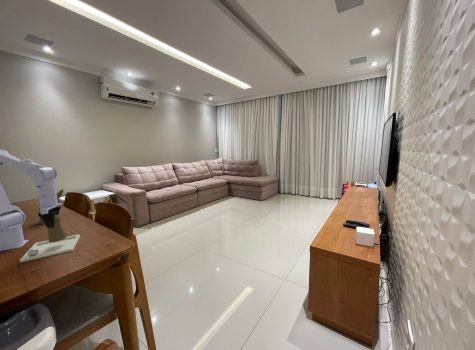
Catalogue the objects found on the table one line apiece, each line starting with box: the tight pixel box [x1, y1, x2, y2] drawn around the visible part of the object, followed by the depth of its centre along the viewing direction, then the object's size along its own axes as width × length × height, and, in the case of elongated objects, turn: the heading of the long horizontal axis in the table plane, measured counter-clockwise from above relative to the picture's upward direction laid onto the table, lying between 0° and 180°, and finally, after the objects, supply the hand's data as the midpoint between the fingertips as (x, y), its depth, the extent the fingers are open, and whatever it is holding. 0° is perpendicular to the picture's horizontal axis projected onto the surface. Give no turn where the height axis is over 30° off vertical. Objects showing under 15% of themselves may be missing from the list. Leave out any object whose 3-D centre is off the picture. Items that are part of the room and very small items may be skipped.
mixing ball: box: [26, 248, 39, 257], centre depth 80 cm, size 3×3×3 cm
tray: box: [19, 233, 81, 263], centre depth 87 cm, size 16×16×2 cm
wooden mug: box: [38, 189, 64, 224], centre depth 122 cm, size 9×14×18 cm, turn 148°
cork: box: [47, 214, 68, 243], centre depth 88 cm, size 6×6×11 cm
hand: (52, 225), depth 87 cm, fingers closed on cork, 5 cm apart
